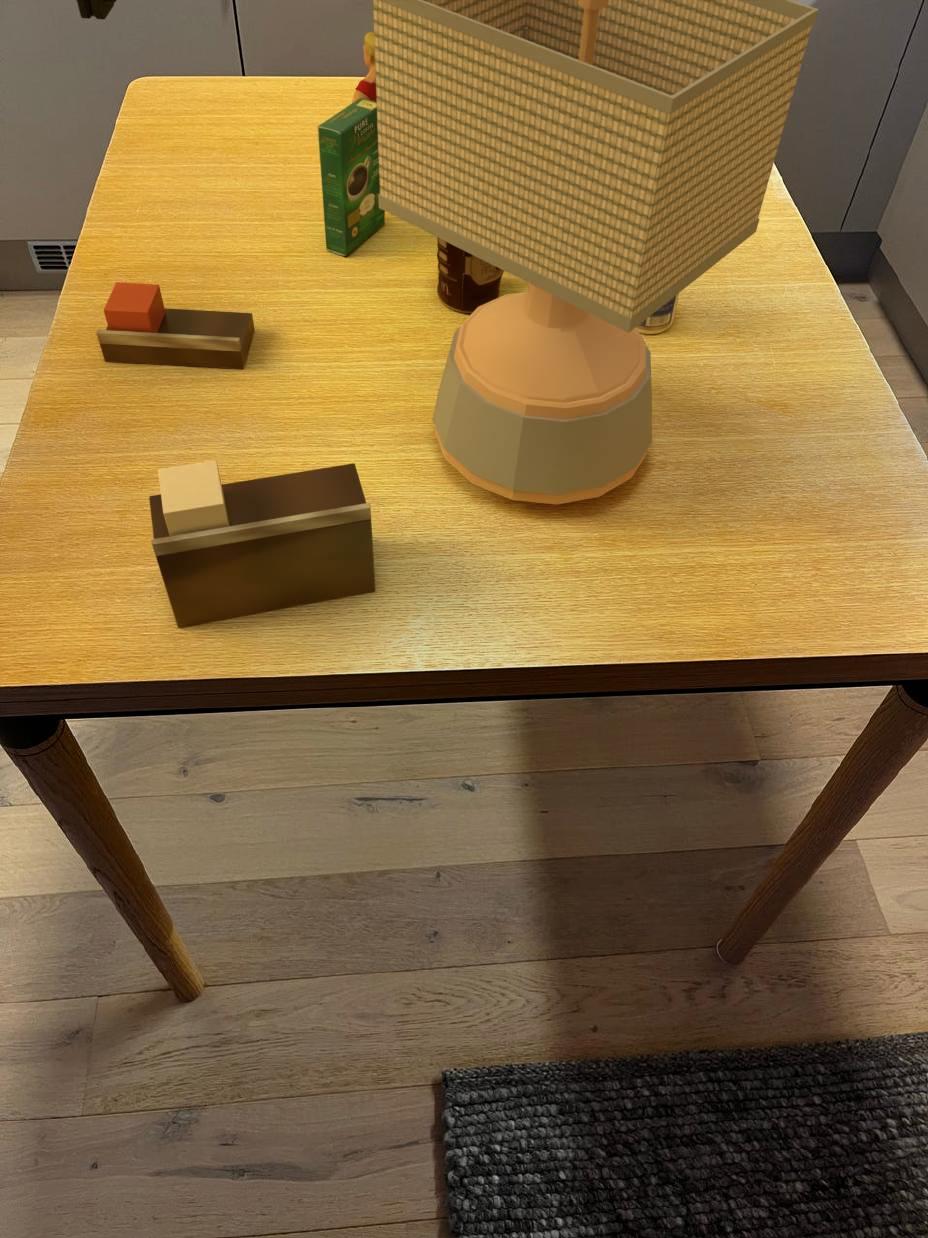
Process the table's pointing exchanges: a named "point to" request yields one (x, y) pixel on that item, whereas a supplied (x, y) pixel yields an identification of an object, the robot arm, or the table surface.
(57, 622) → the table surface
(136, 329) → the red cube block
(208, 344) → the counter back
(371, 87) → the action figure
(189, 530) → the tan block
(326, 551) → the counter front
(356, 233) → the coffee box
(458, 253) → the coffee cup
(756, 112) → the desk lamp
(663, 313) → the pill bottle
